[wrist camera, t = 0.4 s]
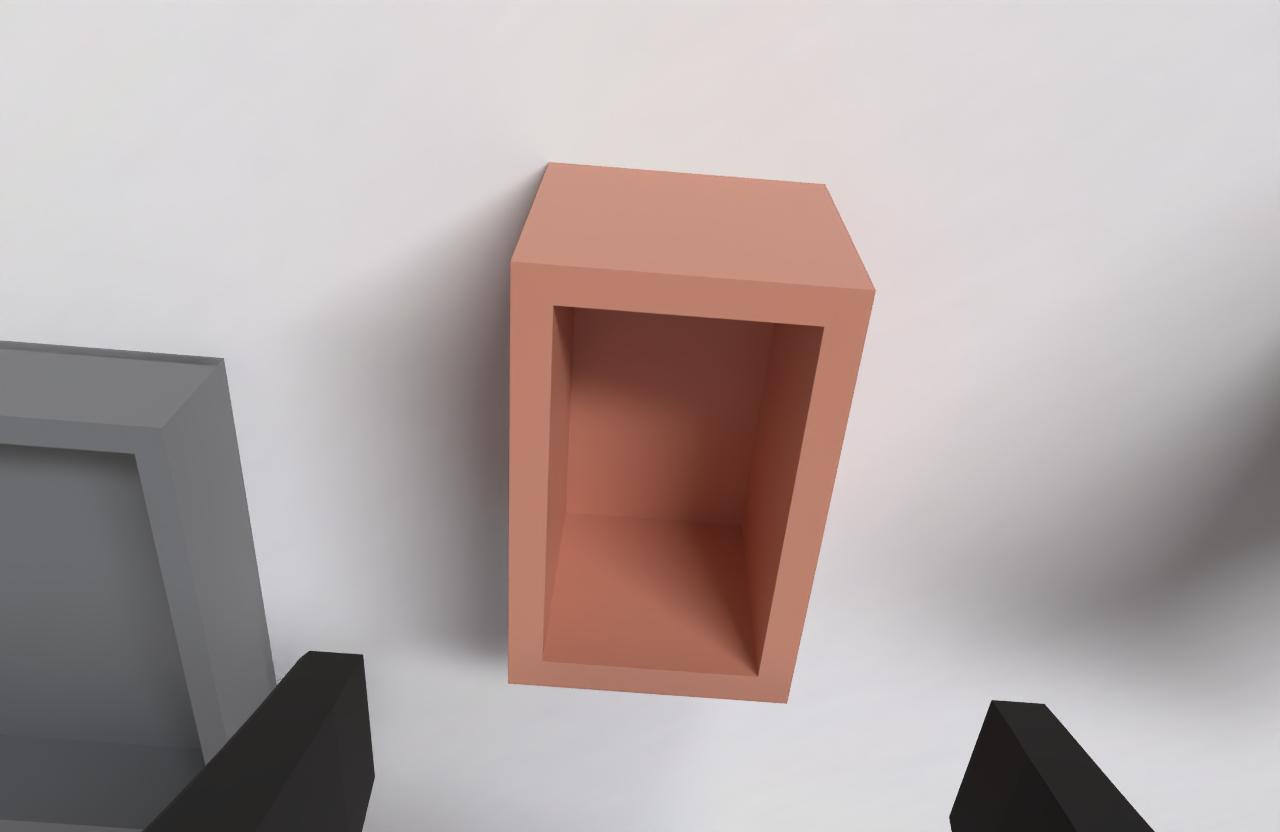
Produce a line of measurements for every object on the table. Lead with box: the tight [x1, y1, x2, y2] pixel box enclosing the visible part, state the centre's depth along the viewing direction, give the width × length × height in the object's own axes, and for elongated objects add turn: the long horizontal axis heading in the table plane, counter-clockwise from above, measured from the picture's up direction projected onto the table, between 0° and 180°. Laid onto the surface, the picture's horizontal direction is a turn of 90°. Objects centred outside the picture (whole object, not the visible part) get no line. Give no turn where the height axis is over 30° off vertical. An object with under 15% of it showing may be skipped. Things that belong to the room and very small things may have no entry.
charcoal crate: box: [0, 341, 277, 832], centre depth 21 cm, size 12×10×3 cm
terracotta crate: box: [508, 162, 876, 704], centre depth 17 cm, size 8×5×5 cm, turn 176°
